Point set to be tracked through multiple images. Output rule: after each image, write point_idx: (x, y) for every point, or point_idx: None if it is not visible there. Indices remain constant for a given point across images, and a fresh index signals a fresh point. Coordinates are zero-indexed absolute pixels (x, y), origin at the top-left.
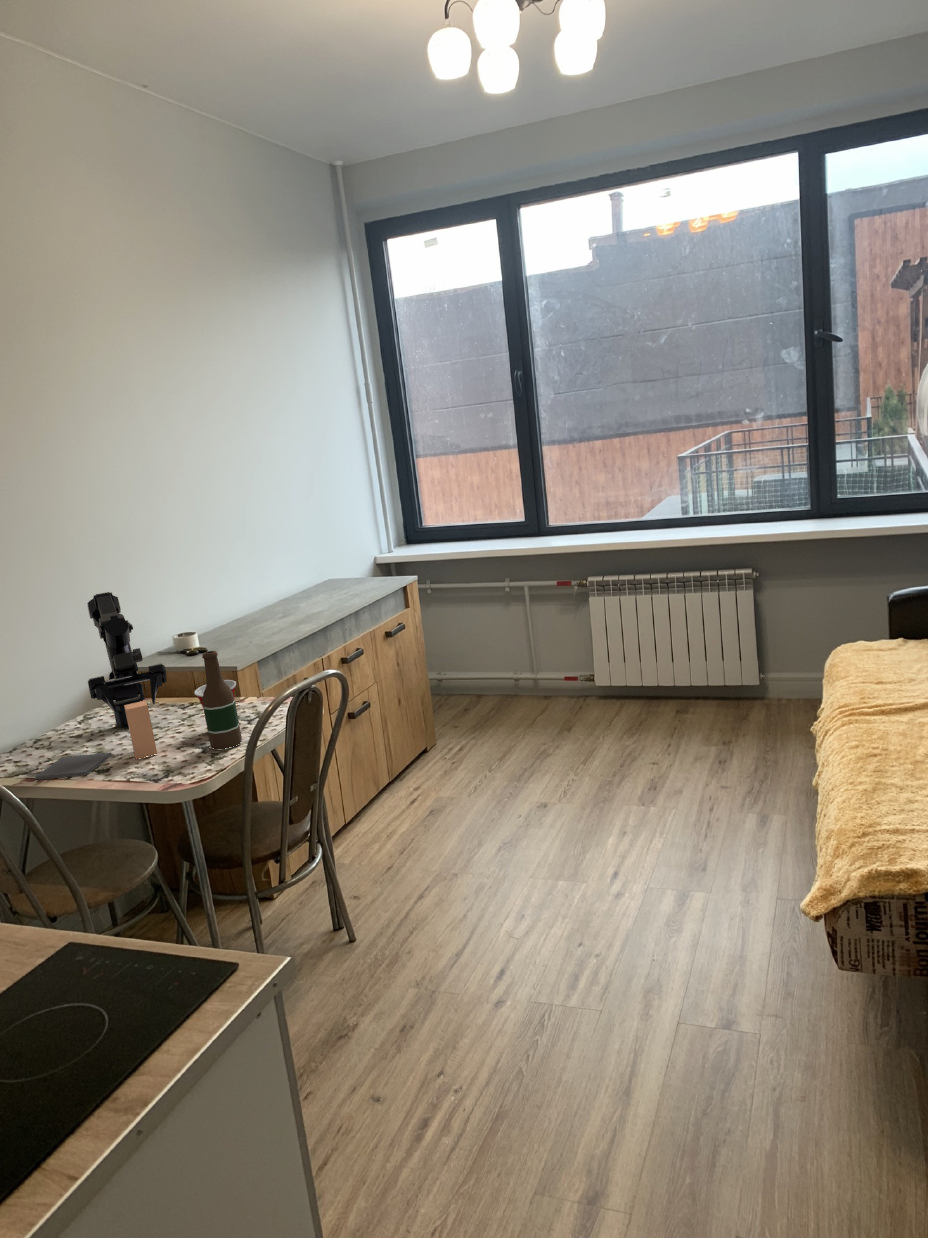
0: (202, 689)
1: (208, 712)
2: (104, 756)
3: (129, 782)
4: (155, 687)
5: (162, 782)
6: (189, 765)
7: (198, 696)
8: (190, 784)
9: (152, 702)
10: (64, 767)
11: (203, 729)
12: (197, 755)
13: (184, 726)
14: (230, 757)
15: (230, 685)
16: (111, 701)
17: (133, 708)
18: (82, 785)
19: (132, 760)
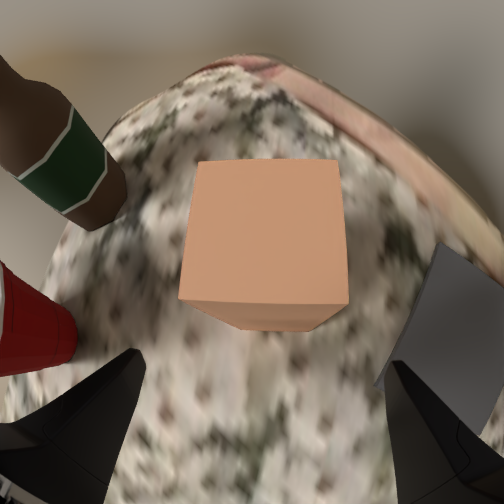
0: None
1: (77, 120)
2: (398, 356)
3: (334, 120)
4: (48, 404)
5: (272, 85)
6: (204, 129)
7: (4, 305)
8: (234, 62)
9: (140, 385)
10: (486, 331)
11: None
12: (166, 177)
13: (124, 474)
14: (134, 127)
15: None
16: (435, 411)
17: (290, 161)
18: (433, 178)
19: None
